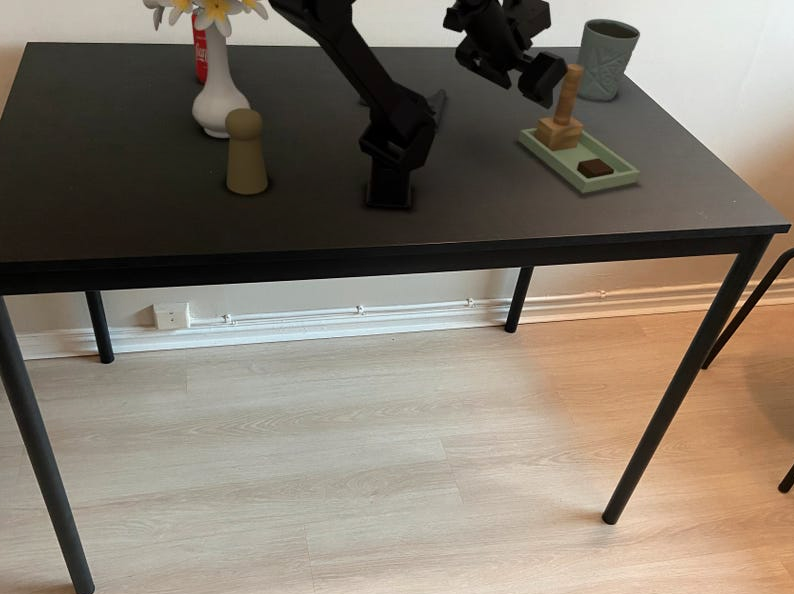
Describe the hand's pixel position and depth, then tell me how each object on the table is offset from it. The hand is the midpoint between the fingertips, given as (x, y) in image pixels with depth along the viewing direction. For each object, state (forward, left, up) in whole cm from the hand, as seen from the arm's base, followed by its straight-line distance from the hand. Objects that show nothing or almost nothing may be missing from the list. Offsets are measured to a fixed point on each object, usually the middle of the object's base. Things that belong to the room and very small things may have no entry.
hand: (529, 96), depth 110 cm
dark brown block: (-5, -12, -9) cm, 16 cm away
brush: (+4, -7, -9) cm, 12 cm away
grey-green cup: (+29, -19, -10) cm, 36 cm away
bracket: (+15, +19, -10) cm, 26 cm away
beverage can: (+21, +54, -10) cm, 59 cm away
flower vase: (+1, +49, -10) cm, 50 cm away
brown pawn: (-15, +42, -10) cm, 46 cm away
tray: (-1, -10, -10) cm, 14 cm away
